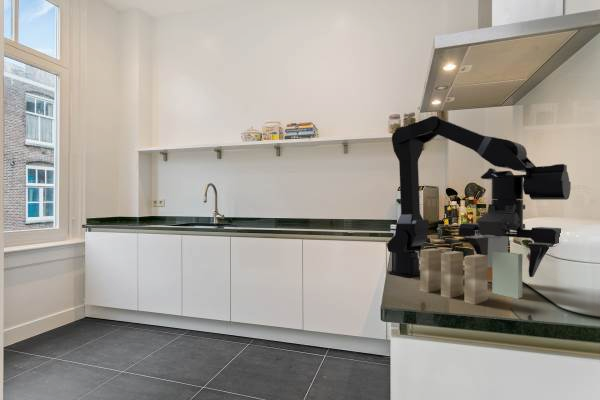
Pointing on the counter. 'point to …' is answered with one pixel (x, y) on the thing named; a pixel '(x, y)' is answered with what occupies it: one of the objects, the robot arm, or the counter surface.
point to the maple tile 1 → (430, 270)
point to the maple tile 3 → (476, 278)
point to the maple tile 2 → (451, 274)
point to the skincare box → (495, 245)
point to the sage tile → (507, 274)
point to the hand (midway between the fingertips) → (506, 272)
